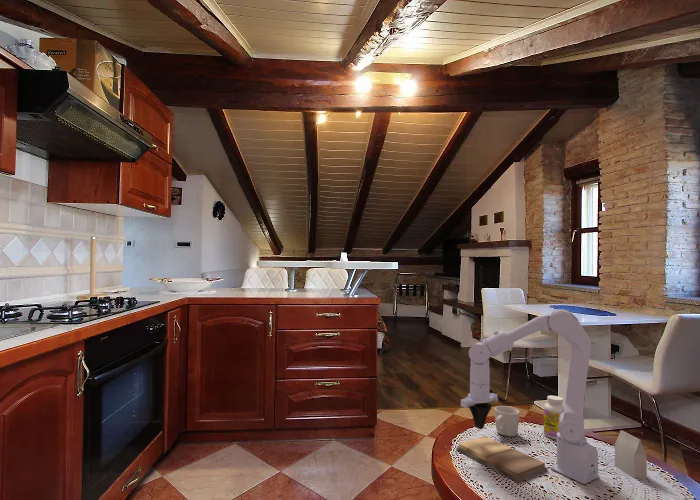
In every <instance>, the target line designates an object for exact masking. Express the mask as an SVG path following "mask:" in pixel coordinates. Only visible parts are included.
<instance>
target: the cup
mask: <svg viewBox="0 0 700 500" xmlns="http://www.w3.org/2000/svg"><path fill="white" fill-rule="evenodd" d="M493 410H494V420H495V428H496V431H497V432H498V434H500V435H502V436H504V437H516V436H517V434H518V431H519V425H520V414H521V412H520V410H519V409H518V408H516V407H513V406H508V405H507V406H506V405H497V406H494V409H493Z"/></svg>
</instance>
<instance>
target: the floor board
mask: <svg viewBox="0 0 700 500" xmlns="http://www.w3.org/2000/svg"><path fill="white" fill-rule="evenodd" d="M455 449H456V451H457V452H459V453H461V454H463V455H464V456H466V457H469V458H470V459H472V460H473V461H476V462H478V463H480V464H482V465H484V466H485V467H487V468H489V469H491V470H493V471H495V472H496V473H498V474H500V475H502V476H504V477H506V478H508V479H510V480H511V481H512V482H513V481H514V482H515V483H516V484H519V483H522V482H525V481H527V480H529V479H531V478H534V477H536V476H537V477H538V476H540V475H541V474H543V473H546V472H548V470H549V468H548V467H546V463H545V462H543V461H541V460H539V459H537V458H534V457H533V456H530V455H528V454H525V453H523V452H522V451H520V450H517V449H515V448H512V449H510V450H507V451H504V452H501V453H498V454H495V455H492V456H489V457H486V461H484V460H482V459H480V458H478V457H476V456H475V455H473V454H471V453H469V452H467V451H465V450H463V449H461V448H459V446H458V447H456V448H455Z"/></svg>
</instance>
